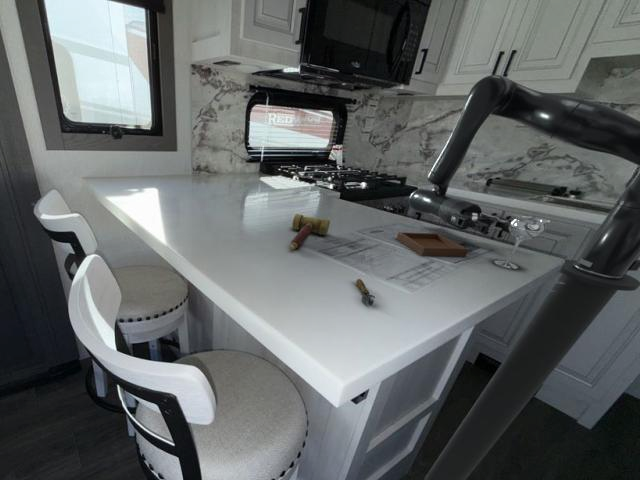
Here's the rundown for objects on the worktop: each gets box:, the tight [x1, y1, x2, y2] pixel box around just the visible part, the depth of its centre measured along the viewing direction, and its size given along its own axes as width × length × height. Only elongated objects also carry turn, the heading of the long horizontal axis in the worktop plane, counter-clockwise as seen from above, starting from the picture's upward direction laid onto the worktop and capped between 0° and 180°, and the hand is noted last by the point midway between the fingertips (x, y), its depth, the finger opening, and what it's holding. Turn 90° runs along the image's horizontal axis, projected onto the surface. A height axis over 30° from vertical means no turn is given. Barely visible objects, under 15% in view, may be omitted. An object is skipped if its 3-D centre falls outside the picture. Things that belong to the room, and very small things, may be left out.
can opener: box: [356, 278, 376, 306], centre depth 59 cm, size 9×2×1 cm, turn 171°
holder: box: [396, 231, 469, 258], centre depth 86 cm, size 13×13×2 cm
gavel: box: [290, 213, 331, 250], centre depth 84 cm, size 21×5×10 cm
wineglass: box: [493, 213, 551, 270], centre depth 75 cm, size 7×7×12 cm
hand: (501, 230), depth 79 cm, fingers open, 8 cm apart
